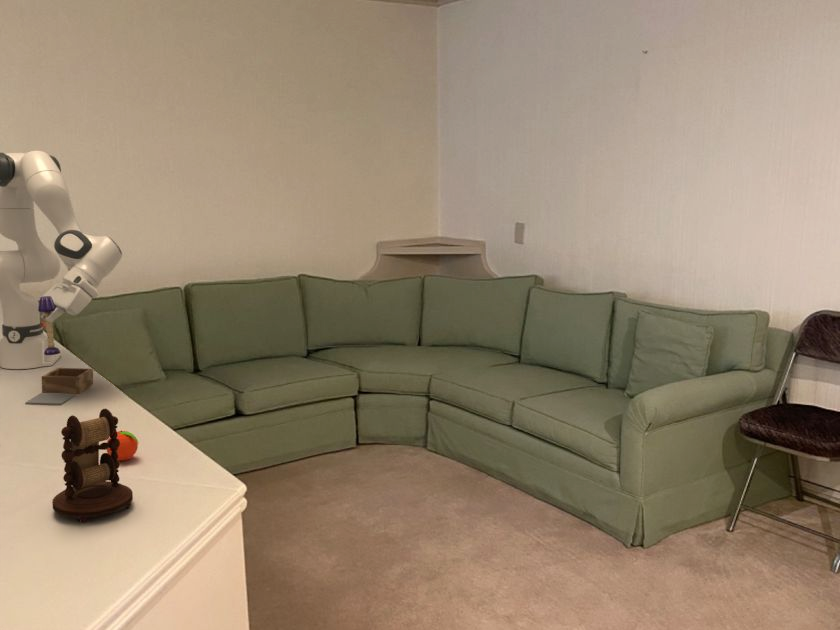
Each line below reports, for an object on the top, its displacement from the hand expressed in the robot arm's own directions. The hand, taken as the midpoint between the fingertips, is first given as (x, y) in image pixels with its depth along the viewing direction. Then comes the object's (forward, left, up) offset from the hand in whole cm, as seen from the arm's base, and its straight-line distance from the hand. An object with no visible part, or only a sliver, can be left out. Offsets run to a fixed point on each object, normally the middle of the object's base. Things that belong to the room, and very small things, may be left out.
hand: (45, 320), depth 224 cm
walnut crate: (-13, 0, -24) cm, 27 cm away
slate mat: (0, 0, -24) cm, 24 cm away
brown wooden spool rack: (+74, +40, -24) cm, 88 cm away
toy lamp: (0, +1, -10) cm, 10 cm away
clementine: (+47, +37, -24) cm, 65 cm away
